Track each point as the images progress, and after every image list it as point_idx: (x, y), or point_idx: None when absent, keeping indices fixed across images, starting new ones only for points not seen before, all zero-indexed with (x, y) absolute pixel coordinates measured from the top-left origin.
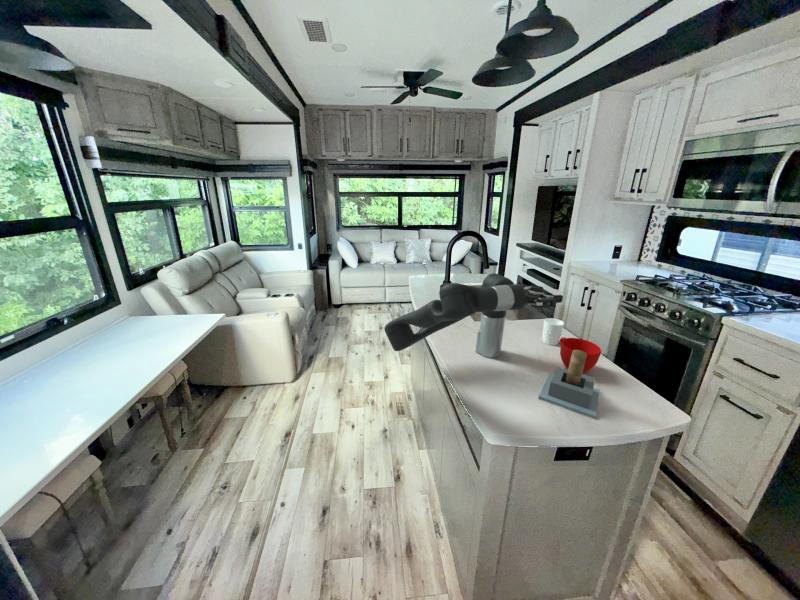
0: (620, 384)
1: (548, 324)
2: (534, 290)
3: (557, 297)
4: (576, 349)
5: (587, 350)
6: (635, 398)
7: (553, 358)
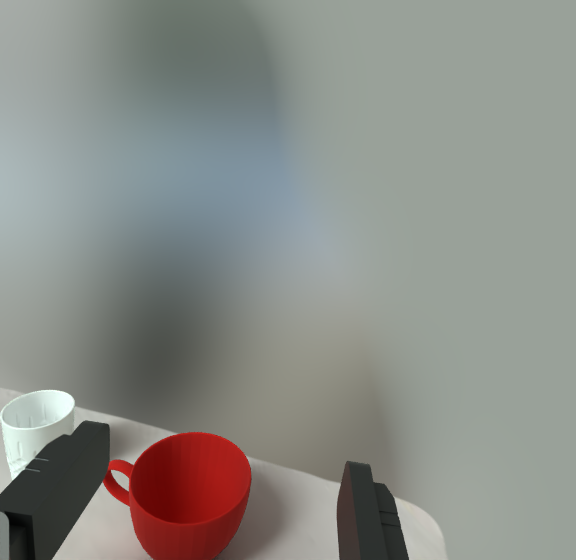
0: (292, 500)
1: (27, 432)
2: (49, 526)
3: (385, 527)
4: (161, 474)
5: (190, 459)
6: None
7: (103, 550)
